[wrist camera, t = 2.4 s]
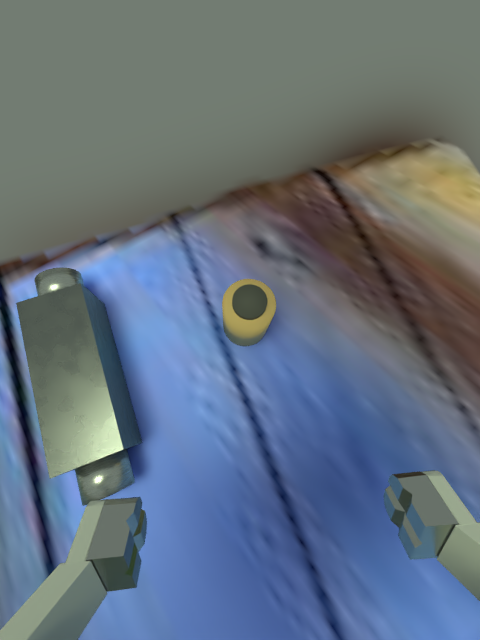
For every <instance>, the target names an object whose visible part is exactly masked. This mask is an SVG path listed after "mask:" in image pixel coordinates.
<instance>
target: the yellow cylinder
mask: <svg viewBox="0 0 480 640" xmlns="http://www.w3.org/2000/svg"><path fill="white" fill-rule="evenodd" d="M222 307H223V327H224V332H225V334H226V336H227V337H228V339H229V340H230V341H232V342H233V343H235V344H237V345H240V346H251V345H254V344H256V343H258V342H259V341H260V340H261V339H262V338H263V336H264V335H265V333H266V331H267V328H268V326H269V324H270V322H271V320H272V318H273V316H274V313H275V310H276V300H275V296H274V294H273V292H272V291H271V289H270V288H269V287H268V286H267V285H265V284H264V283H262V282H260V281H258V280H254V279H244V280H240V281H237V282H235V283H234V284H232V285H231V286H230V287H229V288H228V289H227V290H226V292H225V294H224V297H223V302H222Z"/></svg>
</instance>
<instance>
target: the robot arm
mask: <svg viewBox="0 0 480 640" xmlns="http://www.w3.org/2000/svg"><path fill="white" fill-rule="evenodd" d="M388 482H389V484H390V486H389V487H388V488H386V489H385V492H384V505H385V508H386V511H387V513H388V516H389V518H390V520H391V521H392V522H393V523H394V524H396V525H397V526H398V527H399V533H398V536H399V538H400V540H401V542H402V545H403V547H404V549H405V551H406V553H407V555H408V557H409V559H424V558H437V560H438V561H439V562H440V563H441V564H442V565H443V566H444V567H445V568H446V569H447V570H448V571H449V572H450V573H451V574H452V575H453V576H454V577H455V578H456V579H457V580H458V581H459V582H461V583H462V584H463V585H464V586H465V587H466V588H467V589H468V590H469V591H470V592H471V593H472V594H473V595H474V596H475V597H476V598H477V599H478V600H479V601H480V523H477V522H476V521H475V519H474V518H473V516H472V515H471V514H470V512H469V511H468V510H467V508H466V507H465V505H464V504H463V503H462V501H461V500H460V499H459V497H458V496H457V494H456V493H455V492H454V490H453V489H452V487H451V486H450V485H449V483H448V482H447V481H446V479H445V478H444V476H443V475H442V474H441V473H440V472H438V471H435V470H433V471H423V472H411V473H402V474H392V475H391V476H389V479H388ZM141 508H142V500H141V498H140V497H132V498H121V499H110V500H109V499H106V500H96V501H90V502H89V504H88V505H87V507H86V508H85V511H84V514H83V517H82V519H81V522H80V525H79V527H78V530H77V533H76V536H75V538H74V541H73V544H72V546H71V549H70V552H69V555H68V557H67V560H66V563H61V564H59V566H58V567H57V568H56V569H55V570H54V571H53V572H52V573H51V574H50V576H49V577H48V578H47V579H46V580H45V581H44V582H43V583H42V584H41V586H40V587H39V588H38V589H37V590H36V591H35V592H34V593H33V595H32V596H31V597H30V598H29V599H28V600H27V601H26V602H25V603H24V605H23V606H22V607H21V608H20V609H19V610H18V611H17V612H16V614H15V615H14V616H13V617H12V618H11V619H10V620H9V621H8V622H7V624H6V625H5V626H4V627H3V628H2V629H1V630H0V640H78V638H79V637H80V635H81V634H82V632H83V630H84V629H85V627H86V626H87V624H88V623H89V621H90V620H91V618H92V617H93V615H94V613H95V612H96V610H97V609H98V607H99V606H100V604H101V603H102V601H103V600H104V598H105V596H106V595H107V591H115V590H122V589H130V588H137V582H138V577H139V571H140V566H141V558H140V555H139V551H140V549H141V548H142V547H143V545H144V544H145V538H146V529H147V518H146V513H145V511H144V510H142V509H141Z"/></svg>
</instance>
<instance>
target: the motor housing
mask: <svg viewBox="0 0 480 640" xmlns="http://www.w3.org/2000/svg"><path fill="white" fill-rule="evenodd" d="M35 285H36V289H37V294H38V296H37V297H34V298H31V299H28V300H25V301H21V302H18V303H16V304H17V309H18V314H19V319H20V325H21V330H22V335H23V340H24V346H25V351H26V356H27V361H28V367H29V372H30V377H31V382H32V388H33V393H34V398H35V403H36V409H37V414H38V419H39V424H40V430H41V435H42V440H43V445H44V451H45V456H46V461H47V466H48V472H49V477H50V478H53V477H56V476H58V475H61V474H64V473H66V472H69V471H72V470H75V472H76V477H77V482H78V487H79V491H80V496H81V501H82V505H87V504H89V502H90V501H96V500H100V499H103V498H105V497H108V496H110V495H112V494H114V493H116V492H118V491H120V490H122V489H124V488H126V487H128V486H130V485H132V484H133V483H135V479H134V475H133V471H132V468H131V464H130V460H129V456H128V452H127V449H128V448H131V447H133V446H136V445H138V444H141V443H142V439H141V435H140V432H139V428H138V424H137V421H136V417H135V413H134V410H133V406H132V403H131V399H130V395H129V392H128V388H127V384H126V381H125V377H124V374H123V370H122V366H121V363H120V359H119V355H118V352H117V348H116V344H115V341H114V337H113V334H112V330H111V326H110V323H109V319H108V315H107V312H106V308H105V304H104V303H103V302H101V301H100V300H99V299H98V298H97V297H96V296H95V295H94V294H92V293H91V292H90V291H89V290H88V289H87V288H86V287H85V286H84V283H83V279H82V276H81V274H80V272H78V271H76V270H74V269H70V268H53V269H49V270H45V271H43V272H41V273H39V274H38V275H37V276H36V277H35Z"/></svg>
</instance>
